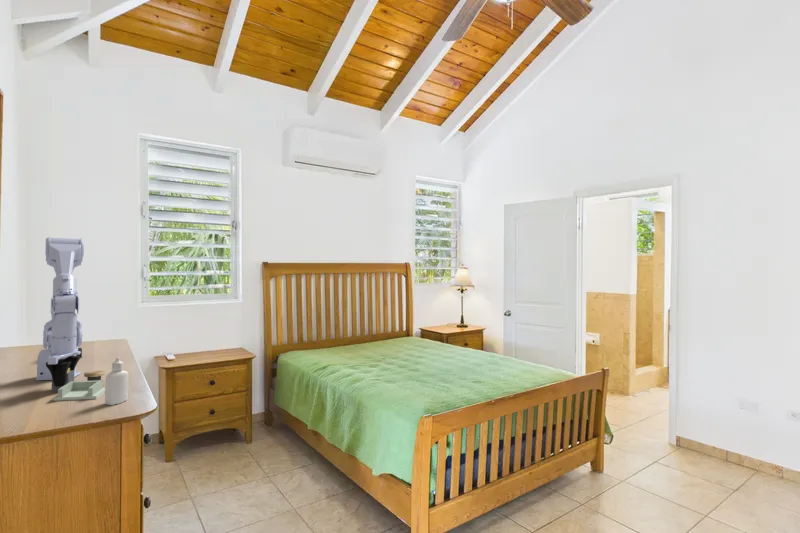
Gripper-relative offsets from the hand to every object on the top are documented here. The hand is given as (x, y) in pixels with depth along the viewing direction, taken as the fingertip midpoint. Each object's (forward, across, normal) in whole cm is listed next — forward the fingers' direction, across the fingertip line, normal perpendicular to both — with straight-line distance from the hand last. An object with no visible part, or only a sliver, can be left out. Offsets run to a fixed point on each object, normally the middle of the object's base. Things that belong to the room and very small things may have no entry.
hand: (63, 383), depth 130 cm
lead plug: (+2, 0, 0) cm, 2 cm away
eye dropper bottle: (+2, -15, -18) cm, 23 cm away
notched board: (+2, -7, -7) cm, 10 cm away
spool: (+2, +2, -7) cm, 8 cm away
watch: (+2, +45, +14) cm, 47 cm away
